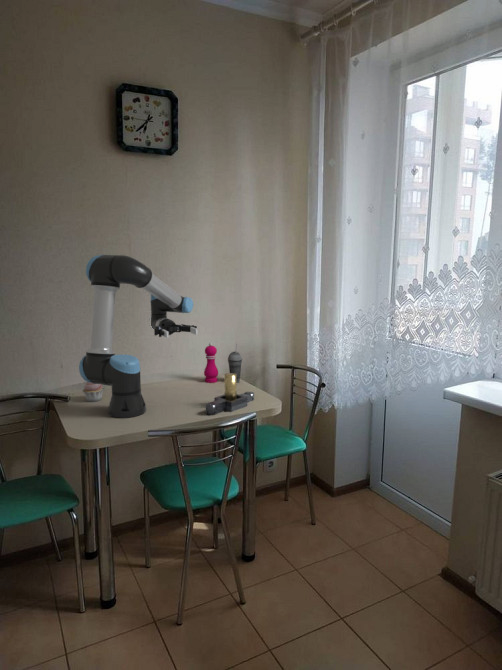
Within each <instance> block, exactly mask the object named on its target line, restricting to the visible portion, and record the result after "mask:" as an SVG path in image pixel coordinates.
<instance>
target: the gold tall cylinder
mask: <svg viewBox="0 0 502 670" xmlns="http://www.w3.org/2000/svg"><path fill="white" fill-rule="evenodd" d="M237 391H238V390H237V383H236V374H234V373H230V372H229V373H225V374H224V394H225V399H226V400H230V401H233V400H235V399H237V394H238V393H237Z"/></svg>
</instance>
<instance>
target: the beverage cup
mask: <svg viewBox="0 0 502 670" xmlns="http://www.w3.org/2000/svg"><path fill="white" fill-rule="evenodd" d="M227 363H228V369H229V373H234V374H236V384H239V383H240V381H241V372H242V371H241V369H242V363H243V357H242V354H241V353H240V352H238V342H237V343H236V344H235V351H231V352H230V353H229V354H228V357H227Z"/></svg>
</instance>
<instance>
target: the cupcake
mask: <svg viewBox="0 0 502 670" xmlns="http://www.w3.org/2000/svg"><path fill="white" fill-rule="evenodd" d="M86 382H87V381H86ZM105 389H106V388H104V387H103V385H102V384H93V383H90V382H87V383H86V384H85V385H84V389H82V392H83V394H84V396H85V400H86V401H87V402H89V403H94V402H99V401H101V400H102V399H103V392H105V391H104V390H105Z"/></svg>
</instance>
